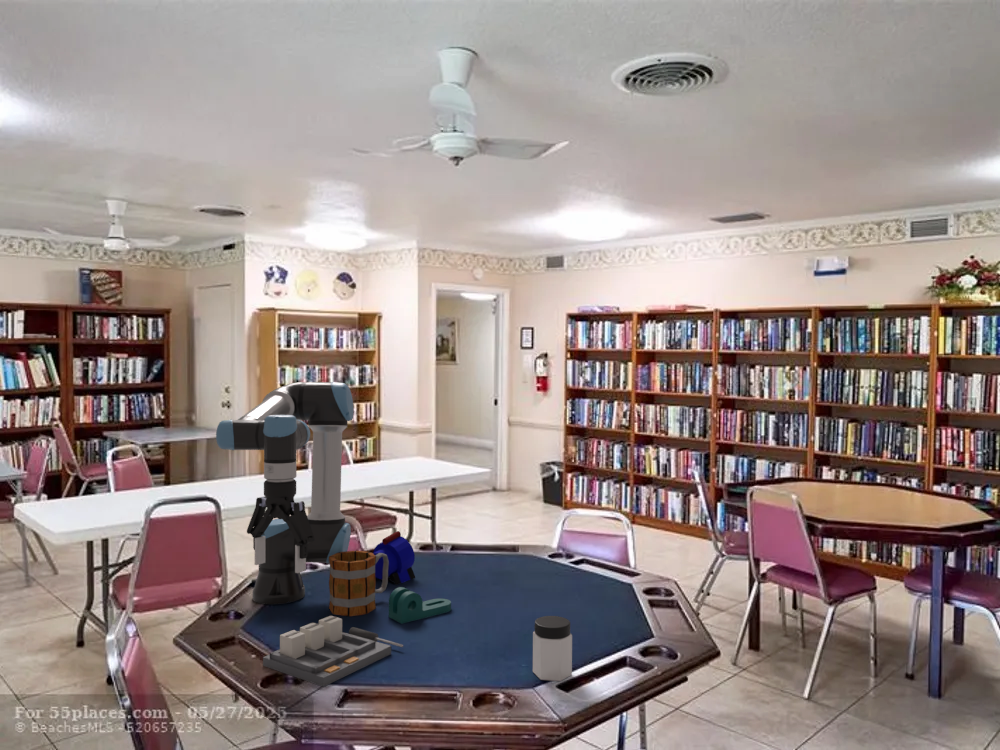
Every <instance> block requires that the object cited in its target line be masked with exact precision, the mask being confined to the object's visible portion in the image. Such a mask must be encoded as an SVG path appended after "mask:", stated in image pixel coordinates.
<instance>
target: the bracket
mask: <svg viewBox="0 0 1000 750" xmlns="http://www.w3.org/2000/svg"><path fill="white" fill-rule="evenodd" d="M450 611H452V601H451V600H450V599H446V598H433V599H428V600H424V601H423V599H422V596H421V595H420V594H419V593H417V592H415V591H412V590H410V589H408V588H405V587H403V586H398V587H396V588H394V590H393V591H392V592H391V594H390V595H389V598H388V618H390V619H392V620H394V621H396V622H398V623H400V624H401V625H402V624H406V623H409V622H413V621H417V620H422V619H426V618H430V617H434V616H437V615H438V616H439V615H442V614H446V613H449V612H450Z"/></svg>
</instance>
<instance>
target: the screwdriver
mask: <svg viewBox="0 0 1000 750" xmlns="http://www.w3.org/2000/svg"><path fill="white" fill-rule="evenodd" d="M348 634H351V635H355V636H359V637H362V638H366V639H369V640H373V641H376V642H381V643H382V642H383V643H384V644H388V645H391V646H392V645H393V646H395V647H401V648H403V647H404V644H402V643H398V642H394V641H392V640H387V639H384V638H380V637H379V634H378V633H377V632H372V631H369V630H366V629H362V628H359V627H354V626H352V627H350V629H349V630H348Z"/></svg>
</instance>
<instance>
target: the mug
mask: <svg viewBox="0 0 1000 750" xmlns="http://www.w3.org/2000/svg"><path fill="white" fill-rule="evenodd" d="M381 557H383V561H384V563H383V579H381V580H382V582H381V586H380V587H379V588H378V589H376V586H377V577H376V576H375V564H376V563H377V562H378V560H379V559H380V558H381ZM328 564H329V580H328V586H329V587H328V589H329V601H328V602H329V604H328V610H329V609H330V610H329V611H330V612H331V614H332V615H337V616H343V617H354V616H363V615H368V614H369V613H370V612H371V613H372V612H373V611H374V610H376V609H377V605H376V603H377V602H376V594H382V593H383V592H385V591H386V589H387V587H388V582H389V579H388V578H389V577H388V565H389V560H388V557H387V555H386V554H383V553H378V554H377V555H374V554H373V552H372V551H367V550H366V551H365V550H349V551H348V550H347V551H346V552H338V553H336V554H334V555H332V556H329V563H328Z"/></svg>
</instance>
